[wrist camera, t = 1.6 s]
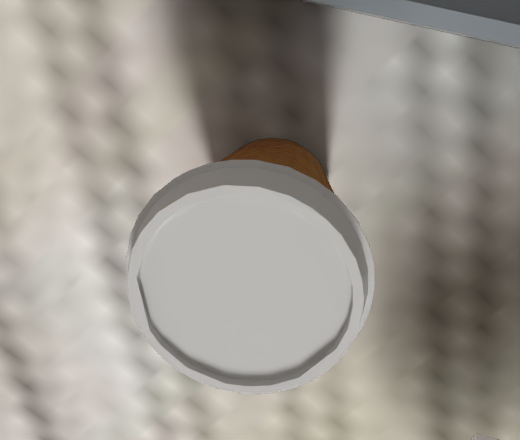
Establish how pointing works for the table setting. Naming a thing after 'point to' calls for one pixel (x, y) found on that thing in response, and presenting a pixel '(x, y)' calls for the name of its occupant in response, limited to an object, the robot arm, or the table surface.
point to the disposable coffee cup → (250, 271)
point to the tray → (446, 16)
